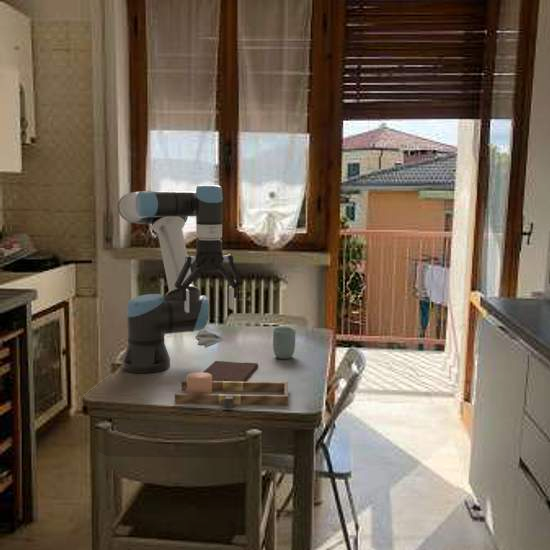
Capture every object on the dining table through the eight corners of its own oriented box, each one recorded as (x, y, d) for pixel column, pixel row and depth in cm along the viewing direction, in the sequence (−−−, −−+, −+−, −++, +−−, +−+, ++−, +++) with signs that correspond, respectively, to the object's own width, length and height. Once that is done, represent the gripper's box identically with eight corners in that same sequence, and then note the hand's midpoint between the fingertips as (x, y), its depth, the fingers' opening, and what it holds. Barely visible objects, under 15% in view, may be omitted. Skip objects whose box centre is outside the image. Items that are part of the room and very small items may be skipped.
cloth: (219, 350, 221) (219, 344, 221) (182, 349, 222) (182, 343, 222) (229, 333, 247) (229, 327, 247) (196, 331, 248) (196, 326, 248)
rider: (185, 400, 168) (185, 379, 167) (189, 392, 175) (189, 372, 174) (210, 401, 168) (210, 380, 167) (213, 392, 175) (213, 372, 174)
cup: (292, 361, 206) (293, 332, 205) (270, 359, 208) (270, 331, 206) (296, 355, 214) (297, 327, 212) (275, 353, 215) (275, 326, 214)
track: (173, 406, 163) (173, 397, 163) (181, 388, 177) (181, 380, 177) (288, 408, 163) (288, 399, 162) (287, 390, 177) (287, 382, 177)
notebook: (193, 384, 183) (193, 377, 183) (214, 365, 202) (214, 359, 202) (241, 388, 180) (241, 381, 180) (258, 368, 199) (258, 363, 199)
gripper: (169, 241, 168) (170, 315, 171) (254, 239, 177) (253, 309, 180) (164, 238, 175) (164, 310, 178) (245, 236, 184) (245, 305, 187)
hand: (209, 310), depth 179 cm, fingers open, 13 cm apart
